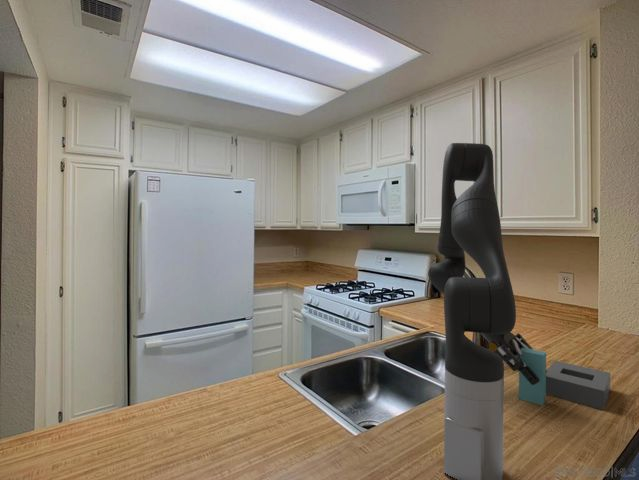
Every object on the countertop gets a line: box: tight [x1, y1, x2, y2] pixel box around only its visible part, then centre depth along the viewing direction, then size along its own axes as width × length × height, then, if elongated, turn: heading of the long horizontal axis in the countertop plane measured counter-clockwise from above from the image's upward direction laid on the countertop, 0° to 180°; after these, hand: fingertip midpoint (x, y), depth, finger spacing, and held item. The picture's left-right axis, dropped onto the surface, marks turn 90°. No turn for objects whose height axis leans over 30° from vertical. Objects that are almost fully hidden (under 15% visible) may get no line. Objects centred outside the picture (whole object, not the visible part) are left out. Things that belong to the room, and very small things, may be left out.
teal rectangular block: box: [518, 347, 547, 407], centre depth 83 cm, size 3×5×12 cm, turn 45°
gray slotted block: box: [546, 360, 611, 411], centre depth 87 cm, size 14×12×4 cm
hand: (540, 378), depth 82 cm, fingers open, 6 cm apart
